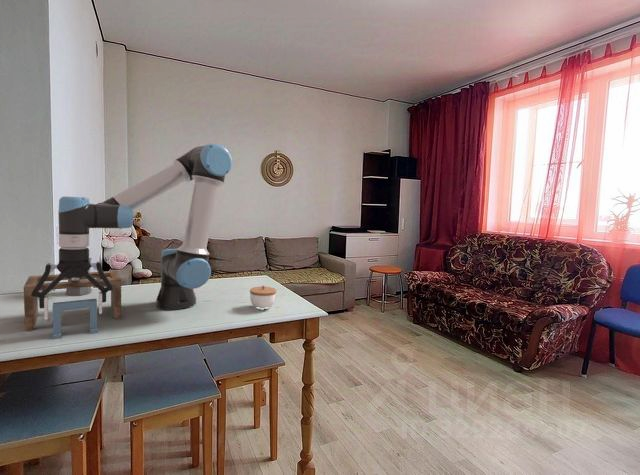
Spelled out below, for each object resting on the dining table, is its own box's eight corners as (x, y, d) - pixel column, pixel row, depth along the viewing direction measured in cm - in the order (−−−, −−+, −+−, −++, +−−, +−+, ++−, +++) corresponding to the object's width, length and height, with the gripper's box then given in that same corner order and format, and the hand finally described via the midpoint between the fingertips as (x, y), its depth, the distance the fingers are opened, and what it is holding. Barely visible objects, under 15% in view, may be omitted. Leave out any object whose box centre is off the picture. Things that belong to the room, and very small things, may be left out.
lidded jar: (280, 308, 142) (281, 286, 141) (260, 313, 134) (260, 290, 133) (264, 302, 149) (265, 281, 148) (244, 307, 141) (244, 284, 140)
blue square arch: (96, 327, 112) (96, 297, 111) (97, 332, 108) (97, 301, 107) (53, 333, 106) (52, 301, 105) (52, 339, 102) (52, 306, 101)
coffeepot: (64, 290, 150) (63, 250, 148) (90, 288, 156) (89, 249, 154) (66, 299, 138) (65, 255, 136) (94, 296, 144) (93, 254, 142)
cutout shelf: (117, 305, 134) (116, 270, 133) (121, 318, 121) (121, 279, 120) (30, 315, 119) (29, 276, 118) (25, 330, 106) (23, 286, 105)
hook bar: (79, 273, 126) (79, 266, 125) (80, 282, 113) (79, 275, 113) (71, 273, 124) (71, 267, 124) (71, 283, 112) (71, 275, 112)
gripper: (18, 250, 94) (19, 325, 96) (122, 248, 108) (121, 313, 110) (21, 246, 100) (22, 317, 102) (120, 245, 114) (119, 307, 116)
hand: (74, 315), depth 106 cm, fingers open, 13 cm apart
